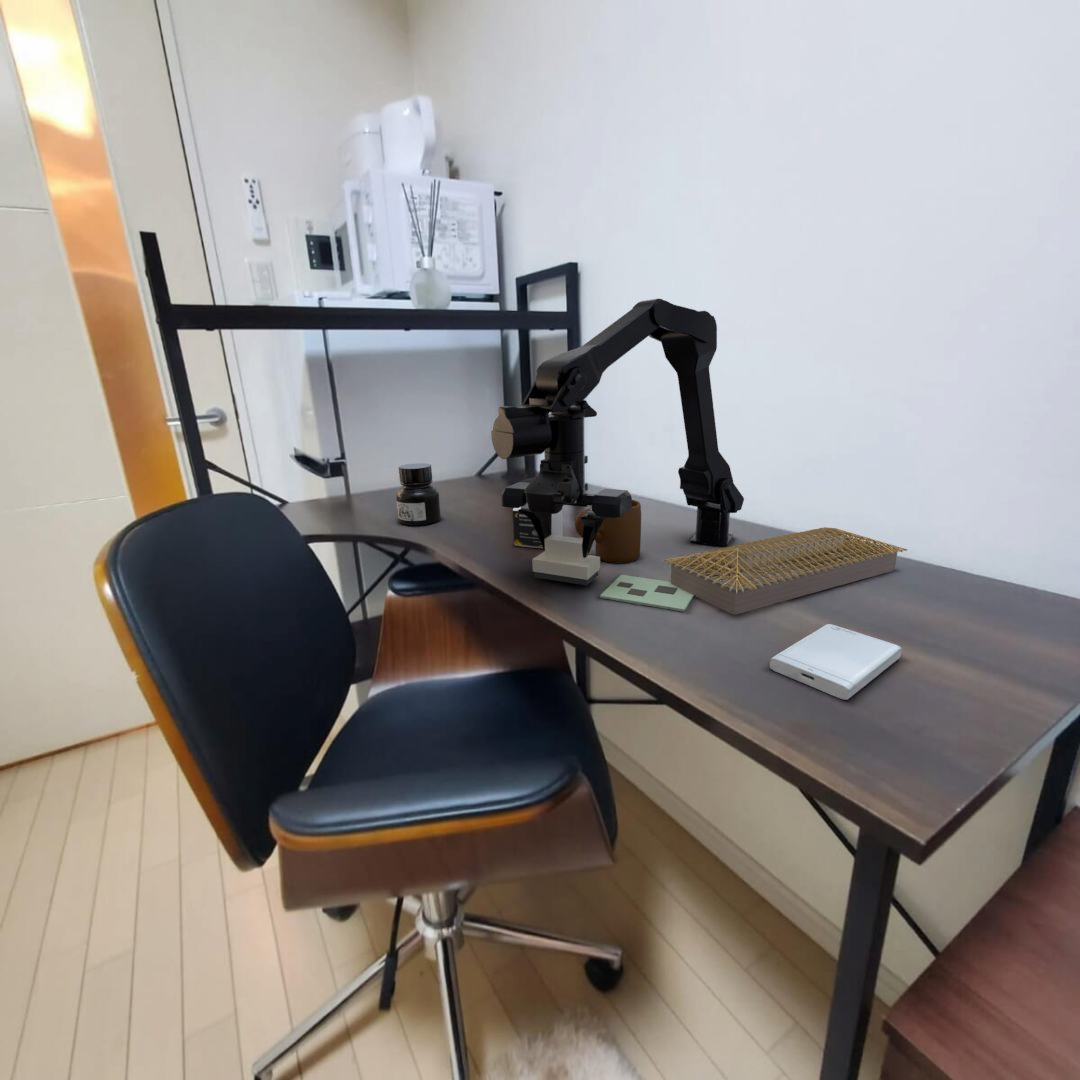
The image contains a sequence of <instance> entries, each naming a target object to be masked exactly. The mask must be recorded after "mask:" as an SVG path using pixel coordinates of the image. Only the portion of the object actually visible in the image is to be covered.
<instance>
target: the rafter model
mask: <svg viewBox="0 0 1080 1080" xmlns="http://www.w3.org/2000/svg"><path fill="white" fill-rule="evenodd" d="M903 551H905V552H908V549H907V548H904V547H900V546H897V545H894V544H891V543H887V542H883V541H880V540H876V539H873V538H870V537H868V536H867V537H866V536H864V535H861V534H857V533H854V532H851V531H846V530H844V529H839V528H836V527H827V526H824V527H819V528H813V529H809V530H805V531H799V532H794V533H789V534H785V535H778V536H775V537H771V538H765V539H760V540H755V541H751V542H746V543H740V544H736V545H732V546H726V547H721V548H716V549H712V550H707V551H701V552H697V553H693V554H687V555H681V556H677V557H672V558H668V559H667V558H666V559H663V560H662V563H663V562H664V563H667V565H670V581H669V582H670V583H671V584H673V585H675V586H677V587H679V588H681V589H683V590H685V591H687V592H689V593H691V594H693V595H695V596H694V597H697V598H699V599H702V600H704V601H706V602H708V603H710V604H712V605H714V606H716V607H718V608H720V609H722V610H724V611H726V612H728V613H730V614H732V615H739V614H741V613H745V612H749V611H753V610H756V609H760V608H763V607H767V606H771V605H775V604H777V603H783V602H786V601H789V600H792V599H796V598H800V597H803V596H807V595H811V594H814V593H818V592H821V591H825V590H829V589H833V588H836V587H840V586H844V585H846V584H851V583H854V582H857V581H860V580H865V579H868V578H873V577H876V576H879V575H880V576H881V575H883V574H886V573H891V572H894V571H895V568H896V562H897V557H898V553H903ZM785 562H786V563H785ZM788 563H789V564H788ZM779 564H780V565H779ZM771 565H772V566H771ZM773 566H775V567H773ZM765 567H766V568H765ZM799 567H801V568H799ZM757 568H758V569H760V570H758V569H757ZM802 568H803V569H802ZM794 569H795V570H794ZM750 570H751V571H750ZM742 571H744V572H745V573H743V572H742ZM752 571H753V572H752ZM787 571H789V572H787ZM779 572H781V573H779ZM773 574H774V575H775V576H774V575H773ZM729 575H730V576H729ZM765 576H767V577H765ZM716 578H717V579H716ZM747 578H750V579H752V581H751V580H749V579H747ZM758 578H760V579H758ZM722 579H723V580H722ZM724 582H725V583H724Z"/></svg>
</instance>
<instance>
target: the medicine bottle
mask: <svg viewBox="0 0 1080 1080" xmlns="http://www.w3.org/2000/svg"><path fill="white" fill-rule="evenodd" d="M534 478H535V477H528V478H525V479H524V480H521V482H525V483H531V481H532V480H533V479H534ZM519 509H521V507H520V508H513V509H512V525H513V527H512V528H513V529H512V530H513V545H514V546H515V547H523V548H533V549H534V548H535V549H543V546H542V544H541V541H540V539H539V536H538V534H537V531H536V529H535V527H534V525H533V523H532V521H531V520H530V519H529V518H528V517H527V516H526V515H524V514H521V513H519V511H518V510H519ZM563 522H564V521H563V509H562V510H561V511H560V512H559V513H556V514H552V526H551V535H558V536H564V531H563V530H564V528H563V524H564V523H563ZM543 550H544V549H543Z"/></svg>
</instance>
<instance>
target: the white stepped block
mask: <svg viewBox="0 0 1080 1080" xmlns="http://www.w3.org/2000/svg"><path fill="white" fill-rule="evenodd" d="M582 544H583V537H574V536H564V535H563V536H558V535H550V536H549V537H547V538H545V551H544V550H543V552H541V553H539V554H538V555H536V556H534V557H533V558H532V560H531V561H532V562H531V563H532V572H534V578H537V579H543V580H544V579H545V580H548V581H549V580H550V581H554V582H555V581H556V582H562V583H567V584H568V583H569V584H573V585H580V586H588V585H589V584H590V583H591V582H593V581H594V580H595V579H596V578H597V577H598V576H599V570H601V560H600V557H599V556H597V555H592V554H591V555H590V554H589V555H588V556H587V557H586V558H583V550H582Z"/></svg>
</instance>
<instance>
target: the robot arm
mask: <svg viewBox="0 0 1080 1080" xmlns="http://www.w3.org/2000/svg"><path fill="white" fill-rule="evenodd" d="M648 337H649V338H650V339H654V340H655V341H658V342H660V343H661V346H662V349H663V350H662V351H663V354H664V357H665V359H666V360H667V362H668V363H669V364H670V366H671V367H672V368H673V370H674V371H675V372H676V375H677V381H678V389H679V395H680V402H681V410H682V416H683V423H684V431H685V438H686V446H687V453H688V454H687V455H688V456H687V458H686V460H685V463H684V465H683V466H680V467H679V468H678V471H677V474H678V476H679V483H680V484H679V489H680V490H682V491H683V494H684V497H685V500H686V505H687V506H689V507H690V506H692V507H696V524H695V527H696V528H695V533H694V534H693V536H692V537H691V538H690V540H689V541H690V543H692V544H700V545H701V544H702V545H708V546H717V547H728V546H729V544H730V542H731V541H732V539H733V537H734V535H733V534H732V533H729V532H730V518H731V516H730V515H731V514H736V513H738V511H741V510H742V508H743V504H744V501H745V498H744V496H743V495H742V493H741V492H740V490H739V489H738V487H737V485H736V484H735V483H734V479H733V474H732V470H731V466H730V464H729V463H728V462H727V460H726V459H725V458H724V456H723V455H722V453H721V452H720V449H719V445H718V443H719V441H718V435H717V427H716V417H715V409H714V401H713V400H714V399H713V391H712V390H713V389H712V383H711V382H712V381H711V374H710V365H711V363H712V361H713V359H714V357H715V354H716V351H717V349H718V324H717V320H716V318H715V316H714V315H712V314H711V313H710V312H709V311H707V310H696V309H693V308H689V307H685V306H681V305H676V304H673V303H671V302H669V301H667V300H664V299H663V298H653V299H646V300H640V301H638V302H637V303H636V304H634V306H633V307H632V308H631V309H630V310H629V311H628V312H625V314H623V315H622V316H621V317H619V318H618V319H617V320H615V321H613V323H611V324H610V325H609V326H607V327H606V328H605V329H603V330H602V331H601V332H599V333H598V334H596V335H594V336H593V337H592V338H591V339H590V340H589V341H587V342H585V343H584V344H583V345H581V346H579V347H577V348H573V349H571V350H567V351H564V352H562V353H559V354H556V355H555V356H553V357H550V358H549V359H546V360H544V361H542V362H541V364H539V366H538V367H537V369H536V375H535V380H534V382H533V384H532V385H531V388H530V389H529V391H528V393H527V395H526V396H525V398H524V399H523V401H522V404H521V405H520V406H509V405H508V406H507V405H503V406H502V405H501V406H499V407H498V416H497V417H496V418H495V420H494V422H493V426H492V430H491V433H490V434H491V435H490V437H491V442H492V446H493V450H494V452H495V453H496V455H497V456H498V457H499V458H500V459H502V460H507V459H515V458H516V459H517V458H521V457H529V456H531V457H532V456H538V455H542V454H544V458H543V459H541V460H540V464H539V470H538V471H539V472H538V475H536V476H535V477H533V478H534V479H533V480H532V481H531V483H525V482H522V481H519V482H516V483H513V484H511V485H508V486H506V487H505V488H504V489H503V490H502V493H501V506H502V507H503V508H510V509H512V508H513V509H514V508H520V507H521V509H519V510H518V511H519V513H521V514H524V515H526V516H527V517H528V518H529V519H530V520H531V521H532V523H533V525H534V527H535V529H536V531H537V534H538V536H539V539H540V541H541V544H542V546H543V552H544V551H545V538H547V537H549V536H550V535H551V526H552V514H556V513H559V512H560V511H561V510H562V511H563V507H564V506H570V507H571V506H572V507H580V508H581V507H583V508H586V509H587V514H585V515H583V516H582V517H581V520H582V523H583V537H582V538H583V544H582V550H583V558H586V557H587V556H588V555H590V552H591V549H592V547H593V546H594V545H593V544H594V542H595V537H596V535H597V532H598V530H599V528H600V526H601V524H602V522H603V521H604V519H605V518H607V517H610V518H618V517H621V516H622V515H624V514H625V513H626V512H628V511H629V510H631V509H632V500H633V497H632V495H631V493H630V491H629V490H628V489H617V488H604V489H602V490H600V491H599V492H597V493H595V494H594V493H586V492H587V491H589V483H587V482H585V480H586V479H585V477H586V476H585V475H586V473H585V464H588V462H589V456H588V455H585V418H595V417H597V415H598V412H597V411H596V410H595V409H594V408H593V407H592V406H590V404H589V403H588V401H587V400H586V399H587V398H588V396H590V394H591V393H592V392H593V391H594V390H595V389H596V387H598V385H599V384H600V382H601V379H602V377H603V374H604V372H606V370H607V369H608V368H609V367H610V366H612V365H614V363H616V362H617V361H618V360H619V359H621V358H622V357H624V355H626V354H627V353H629V351H631V350H632V349H634V348H635V347H636V346H637V345H639V344H640V343H641V342H643V341H644V340H646V339H647V338H648Z"/></svg>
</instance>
